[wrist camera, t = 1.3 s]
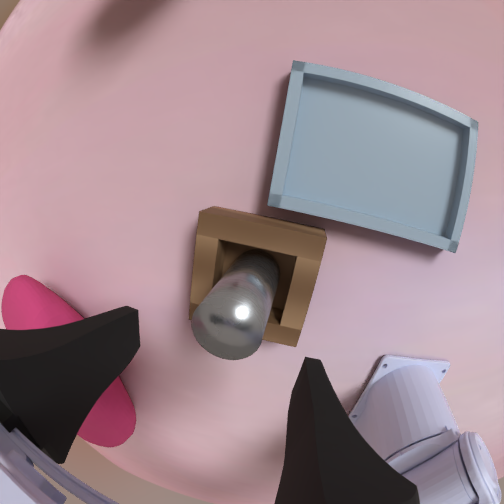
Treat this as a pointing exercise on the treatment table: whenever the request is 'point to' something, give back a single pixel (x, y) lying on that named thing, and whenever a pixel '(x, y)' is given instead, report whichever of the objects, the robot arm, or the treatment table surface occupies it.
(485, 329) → the treatment table surface
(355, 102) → the tray
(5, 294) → the cushion
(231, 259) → the socket block
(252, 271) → the dowel
